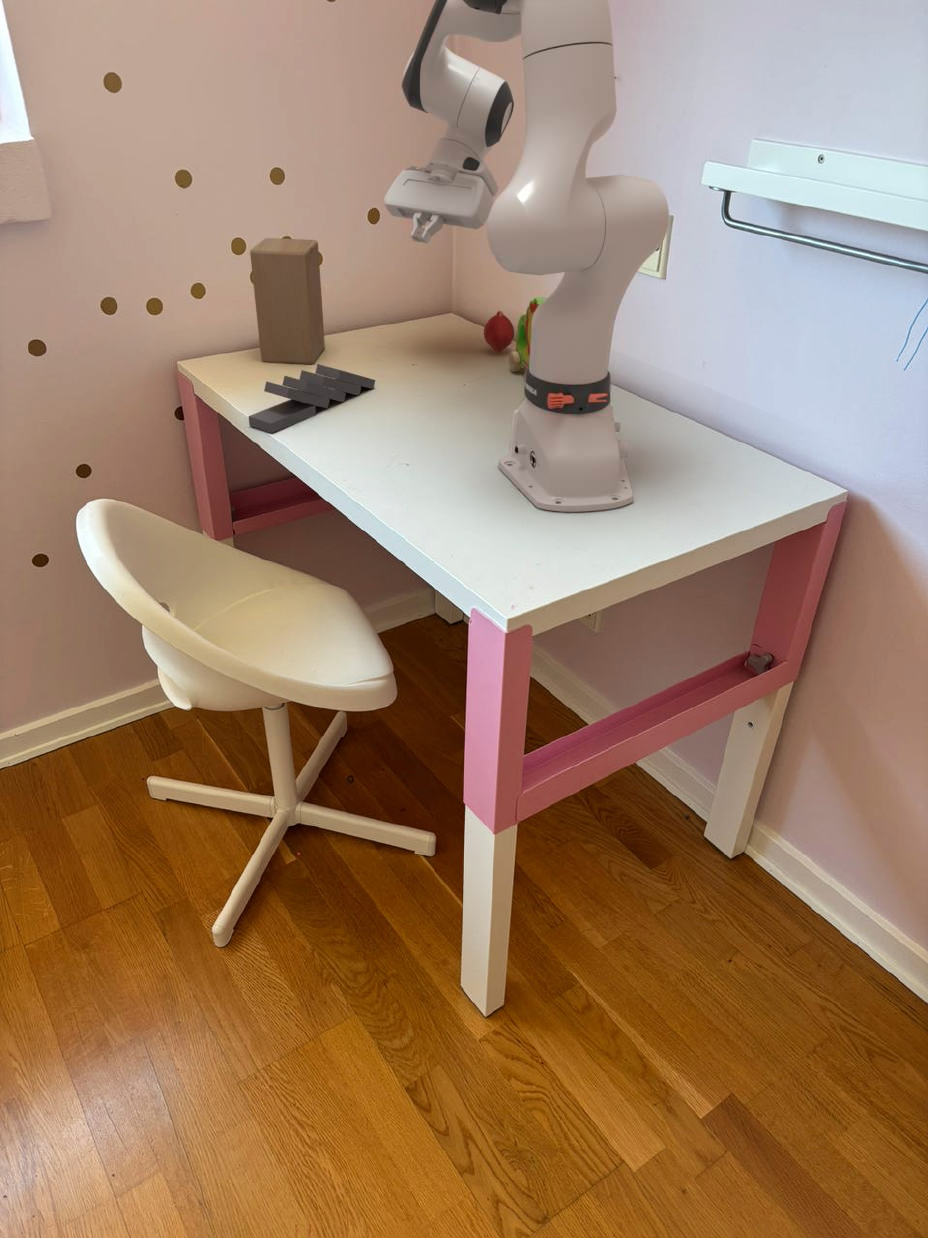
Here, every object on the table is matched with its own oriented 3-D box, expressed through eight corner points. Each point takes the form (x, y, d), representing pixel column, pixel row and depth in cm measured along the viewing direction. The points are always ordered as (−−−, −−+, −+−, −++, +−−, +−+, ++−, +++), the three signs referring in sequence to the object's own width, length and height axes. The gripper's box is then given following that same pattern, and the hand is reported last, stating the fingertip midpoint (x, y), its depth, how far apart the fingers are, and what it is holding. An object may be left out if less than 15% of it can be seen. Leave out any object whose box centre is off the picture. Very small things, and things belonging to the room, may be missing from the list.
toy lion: (506, 368, 176) (509, 284, 168) (534, 366, 177) (539, 282, 169) (532, 398, 163) (537, 309, 155) (562, 396, 164) (568, 307, 156)
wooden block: (325, 347, 184) (318, 239, 173) (313, 364, 176) (305, 252, 165) (275, 345, 185) (264, 237, 174) (260, 362, 177) (248, 249, 165)
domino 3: (323, 386, 162) (284, 375, 154) (346, 392, 160) (307, 381, 151) (321, 396, 163) (282, 385, 154) (343, 402, 160) (304, 392, 152)
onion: (481, 347, 186) (482, 305, 181) (510, 346, 186) (512, 305, 182) (485, 357, 181) (486, 314, 176) (515, 356, 182) (517, 314, 177)
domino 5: (353, 374, 168) (317, 363, 159) (375, 379, 166) (340, 369, 157) (351, 383, 168) (315, 373, 160) (373, 389, 166) (337, 379, 157)
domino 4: (339, 380, 165) (301, 369, 157) (361, 386, 163) (324, 376, 154) (337, 389, 166) (299, 379, 157) (359, 395, 163) (321, 386, 155)
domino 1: (307, 392, 160) (266, 381, 151) (329, 398, 157) (289, 387, 149) (305, 402, 160) (264, 391, 151) (327, 408, 158) (286, 398, 149)
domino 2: (292, 398, 157) (248, 416, 150) (315, 405, 155) (271, 423, 148) (293, 408, 158) (249, 426, 151) (315, 414, 156) (272, 433, 149)
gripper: (397, 153, 168) (363, 220, 166) (493, 164, 158) (458, 236, 157) (412, 177, 173) (380, 243, 172) (506, 189, 164) (473, 259, 162)
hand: (418, 240), depth 164 cm, fingers closed
